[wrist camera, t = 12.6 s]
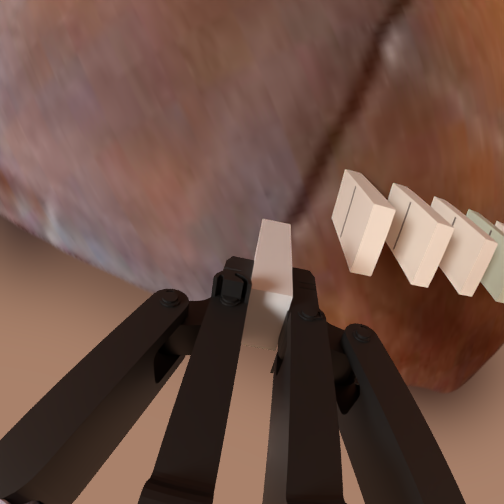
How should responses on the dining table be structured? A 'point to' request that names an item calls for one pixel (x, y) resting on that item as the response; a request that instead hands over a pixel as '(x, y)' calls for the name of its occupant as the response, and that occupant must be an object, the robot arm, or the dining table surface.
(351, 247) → the domino
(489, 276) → the sage domino
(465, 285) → the domino
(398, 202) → the domino
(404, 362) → the dining table surface
